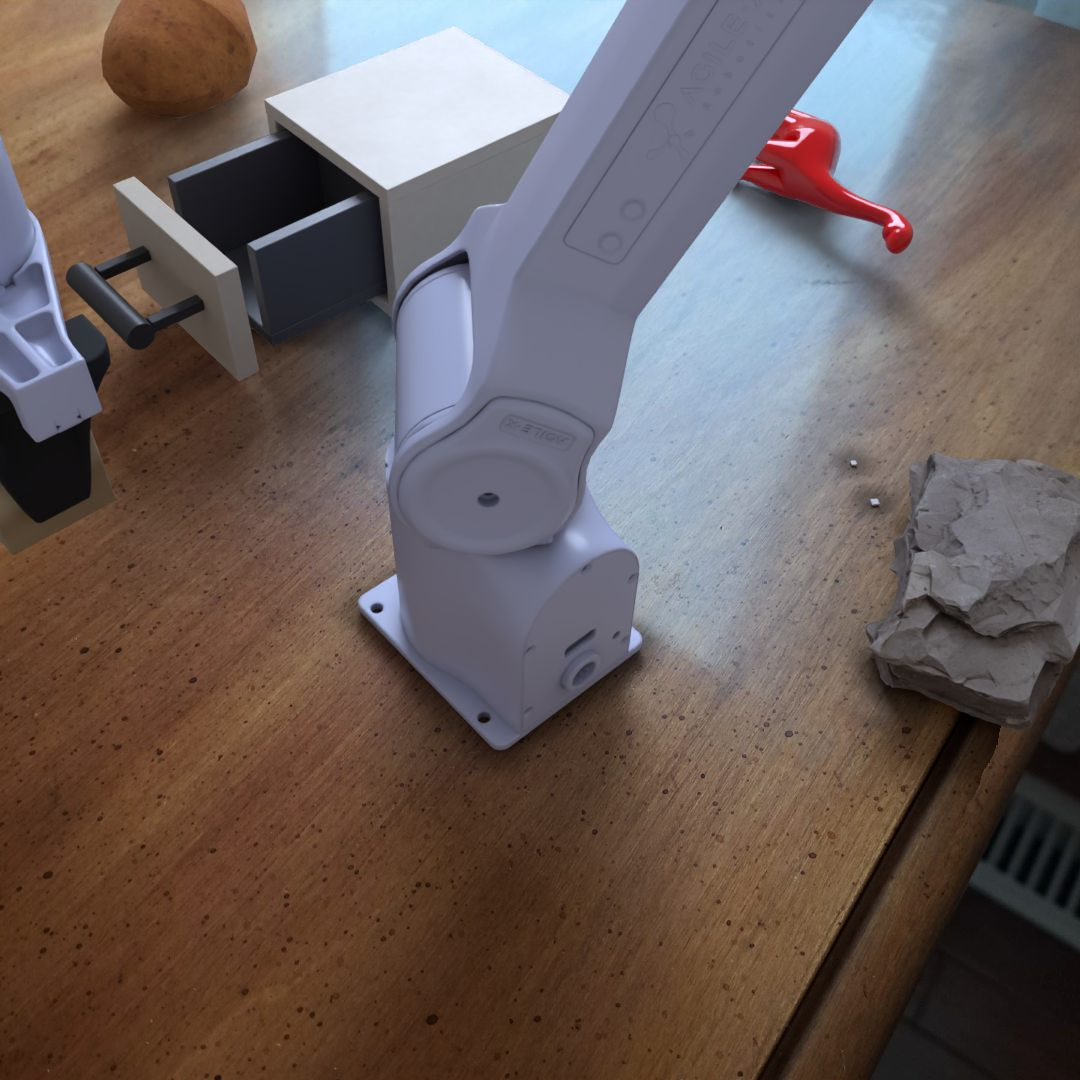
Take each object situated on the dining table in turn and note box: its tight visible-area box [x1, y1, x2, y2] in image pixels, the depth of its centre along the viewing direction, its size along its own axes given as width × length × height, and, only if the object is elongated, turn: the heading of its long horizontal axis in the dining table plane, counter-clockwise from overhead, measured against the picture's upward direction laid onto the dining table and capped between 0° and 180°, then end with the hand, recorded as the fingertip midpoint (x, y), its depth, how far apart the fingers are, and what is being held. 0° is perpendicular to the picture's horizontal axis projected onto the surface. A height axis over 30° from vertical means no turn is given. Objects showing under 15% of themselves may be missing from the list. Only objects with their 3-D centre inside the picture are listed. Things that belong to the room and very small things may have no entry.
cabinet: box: [263, 25, 571, 319], centre depth 65 cm, size 13×11×8 cm
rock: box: [865, 451, 1080, 731], centre depth 50 cm, size 14×9×4 cm
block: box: [0, 430, 117, 556], centre depth 41 cm, size 4×4×4 cm
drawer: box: [65, 128, 388, 382], centre depth 60 cm, size 16×9×6 cm, turn 131°
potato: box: [101, 0, 259, 119], centre depth 74 cm, size 9×11×8 cm
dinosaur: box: [739, 108, 914, 255], centre depth 70 cm, size 4×15×12 cm
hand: (28, 467), depth 42 cm, fingers closed on block, 4 cm apart
